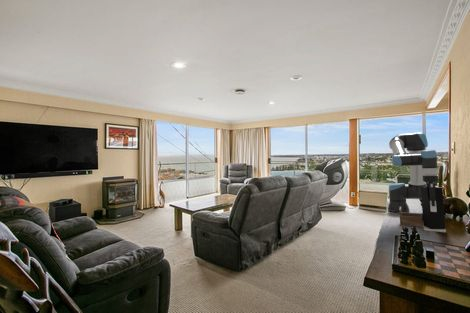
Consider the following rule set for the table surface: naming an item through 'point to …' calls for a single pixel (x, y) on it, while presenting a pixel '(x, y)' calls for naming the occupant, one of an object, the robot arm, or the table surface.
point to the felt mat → (434, 229)
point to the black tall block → (430, 218)
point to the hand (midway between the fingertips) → (432, 209)
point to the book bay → (410, 219)
